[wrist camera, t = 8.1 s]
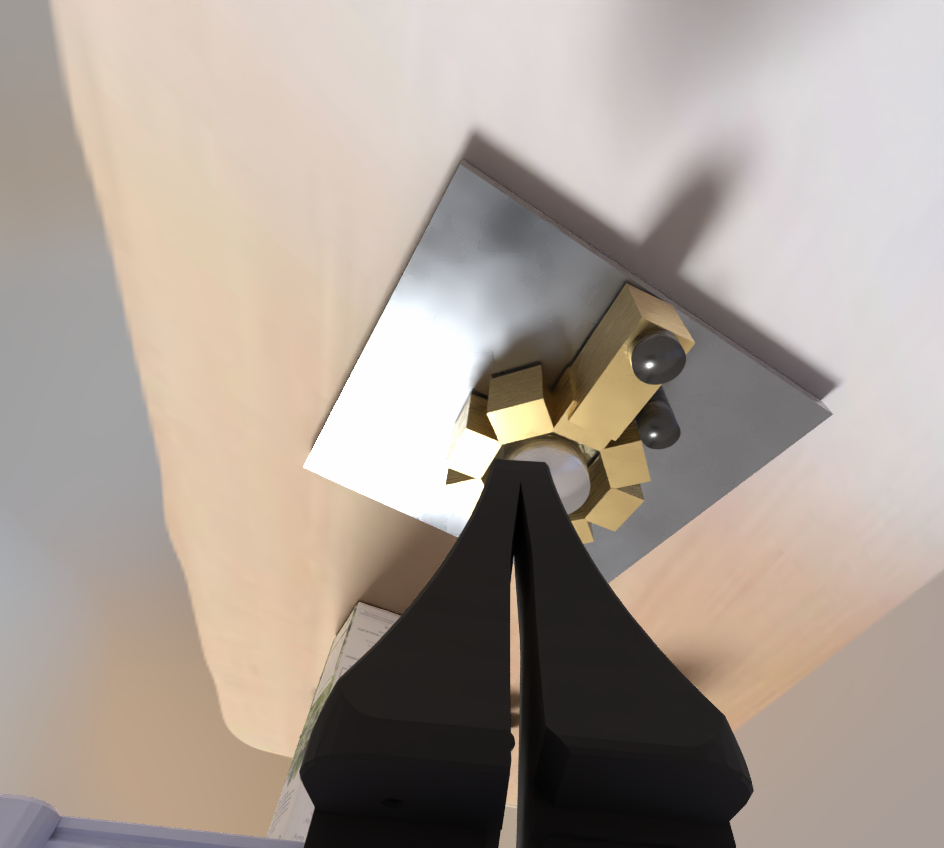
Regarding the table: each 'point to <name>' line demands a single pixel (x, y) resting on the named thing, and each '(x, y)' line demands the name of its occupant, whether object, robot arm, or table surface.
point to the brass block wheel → (580, 410)
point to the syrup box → (344, 653)
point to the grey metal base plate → (554, 348)
